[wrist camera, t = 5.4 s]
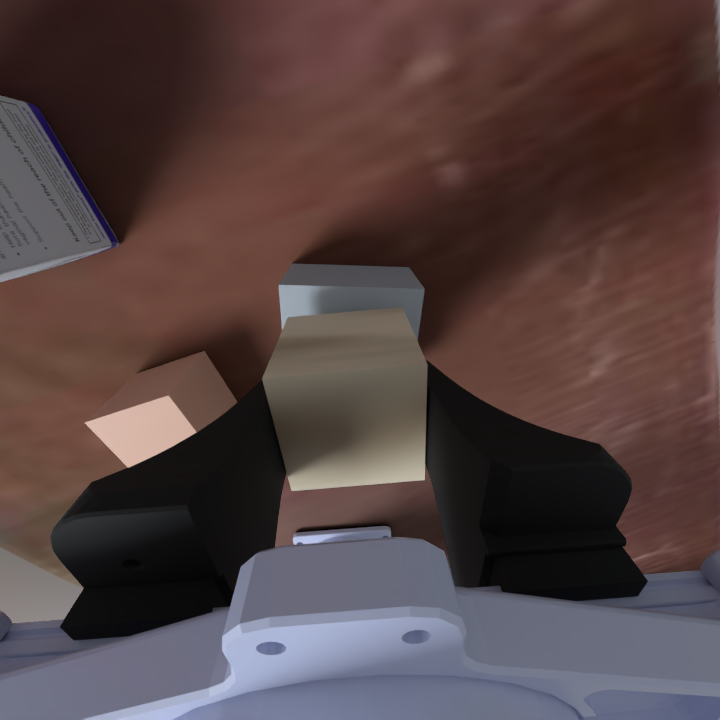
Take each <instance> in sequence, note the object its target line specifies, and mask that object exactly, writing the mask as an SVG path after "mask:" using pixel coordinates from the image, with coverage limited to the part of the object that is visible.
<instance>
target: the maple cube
mask: <svg viewBox="0 0 720 720" xmlns="http://www.w3.org/2000/svg"><path fill="white" fill-rule="evenodd" d="M427 367H428V364H427V362H426V360H425V357H424V355H423V353H422V350H421V348H420V346H419V344H418V341H417V339H416V337H415V334H414V332H413V330H412V327H411V325H410V323H409V321H408V318H407V316H406V314H405V311H404V309H403V307H399V308H387V309H376V310H364V311H353V312H341V313H330V314H318V315H306V316H295V317H288V318H287V320H286V323H285V325H284V327H283V330H282V332H281V335H280V337H279V339H278V342H277V344H276V346H275V349H274V351H273V354H272V356H271V358H270V361H269V363H268V366H267V368H266V370H265V373H264V375H263V377H262V380H263V384H264V388H265V392H266V396H267V399H268V403H269V407H270V411H271V415H272V418H273V422H274V426H275V430H276V434H277V437H278V441H279V445H280V449H281V453H282V456H283V460H284V464H285V468H286V472H287V475H288V479H289V483H290V487H291V491H298V490H310V489H322V488H334V487H346V486H358V485H370V484H382V483H394V482H406V481H419V480H425V445H426V406H427Z"/></svg>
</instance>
